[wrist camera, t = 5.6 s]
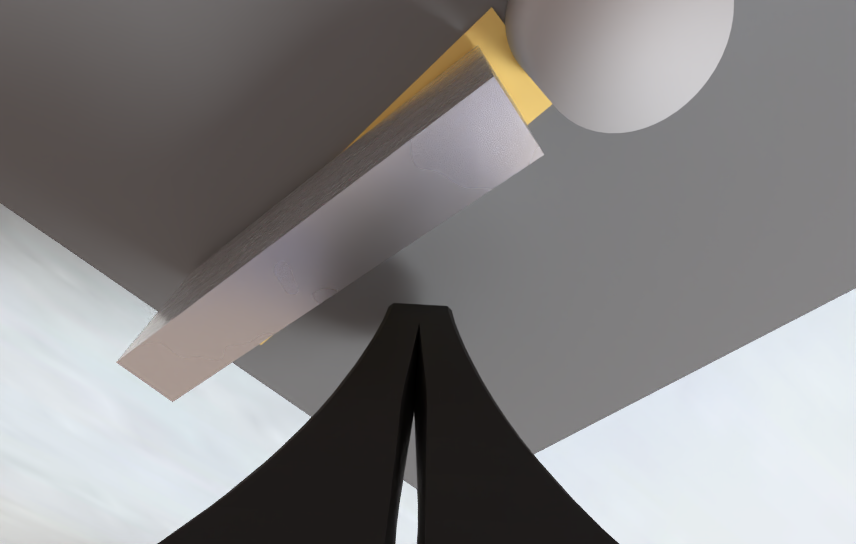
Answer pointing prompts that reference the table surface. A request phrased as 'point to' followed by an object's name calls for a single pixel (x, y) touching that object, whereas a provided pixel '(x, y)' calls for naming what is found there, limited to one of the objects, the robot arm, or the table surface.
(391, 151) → the hinge leaf
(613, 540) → the robot arm
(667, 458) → the table surface
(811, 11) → the mat
